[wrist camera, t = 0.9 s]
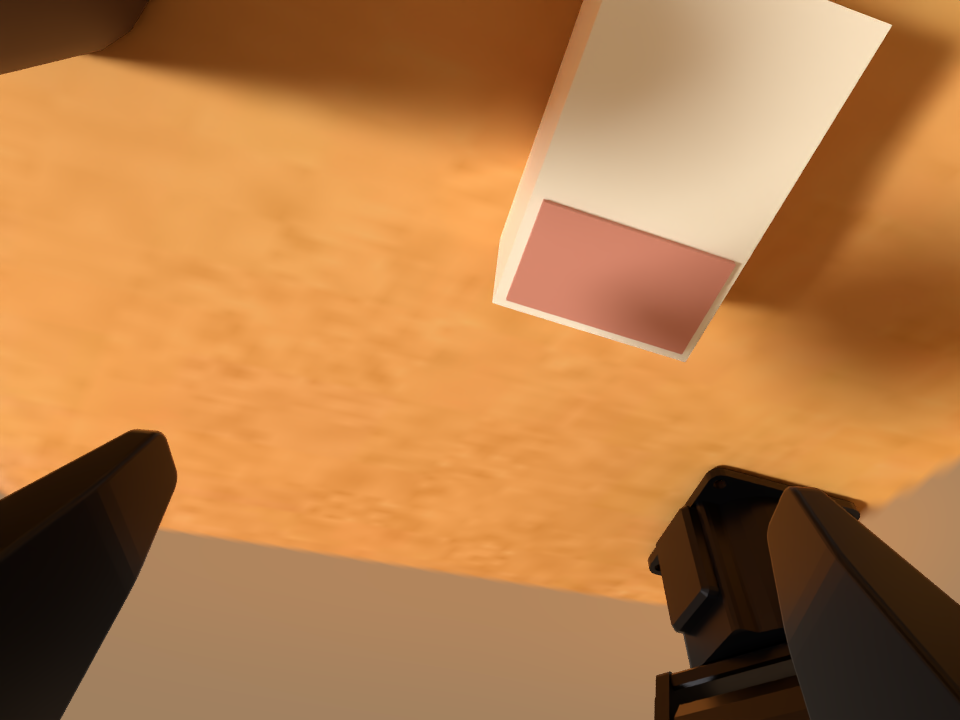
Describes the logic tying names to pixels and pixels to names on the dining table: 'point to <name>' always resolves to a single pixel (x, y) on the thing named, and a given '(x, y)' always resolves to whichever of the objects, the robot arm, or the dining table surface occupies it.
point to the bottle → (60, 29)
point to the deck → (671, 158)
